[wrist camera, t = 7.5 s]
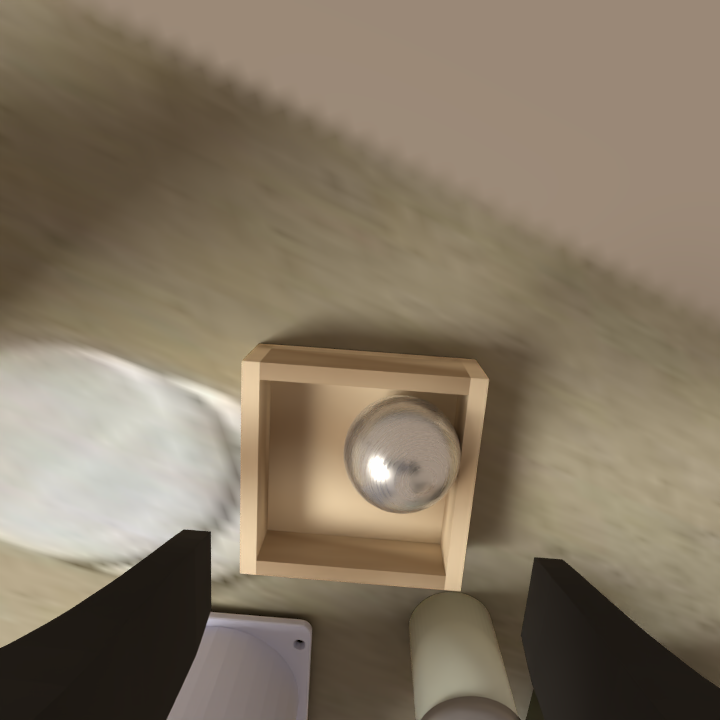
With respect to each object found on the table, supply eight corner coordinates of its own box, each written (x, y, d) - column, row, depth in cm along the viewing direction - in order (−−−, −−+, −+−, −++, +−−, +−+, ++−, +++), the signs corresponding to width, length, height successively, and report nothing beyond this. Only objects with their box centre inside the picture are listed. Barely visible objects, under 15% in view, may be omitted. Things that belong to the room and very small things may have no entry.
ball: (431, 473, 21) (476, 529, 17) (332, 484, 20) (358, 546, 16) (436, 377, 20) (486, 414, 16) (333, 384, 19) (360, 425, 15)
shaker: (488, 666, 23) (523, 812, 18) (403, 658, 23) (410, 802, 18) (499, 593, 22) (541, 723, 17) (410, 586, 22) (421, 713, 17)
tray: (451, 549, 22) (460, 591, 19) (255, 533, 22) (239, 573, 20) (475, 359, 20) (489, 379, 17) (259, 343, 20) (241, 360, 17)
